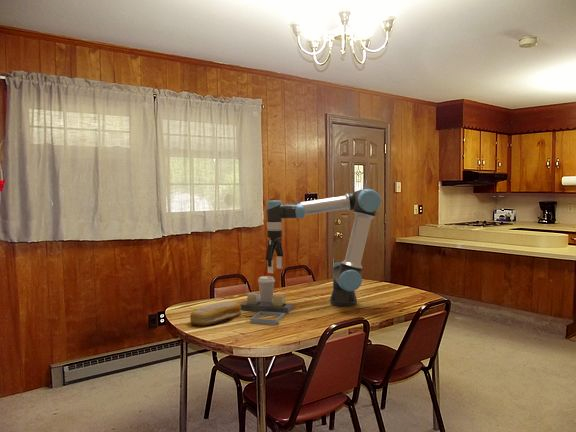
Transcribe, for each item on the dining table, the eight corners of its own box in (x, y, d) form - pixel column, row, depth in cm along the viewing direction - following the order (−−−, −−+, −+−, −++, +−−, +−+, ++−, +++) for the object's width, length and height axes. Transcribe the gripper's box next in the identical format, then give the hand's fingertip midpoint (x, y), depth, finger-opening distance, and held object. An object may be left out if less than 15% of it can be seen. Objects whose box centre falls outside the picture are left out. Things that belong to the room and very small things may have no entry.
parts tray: (284, 317, 217) (284, 313, 217) (276, 325, 205) (276, 320, 205) (259, 315, 221) (259, 311, 221) (250, 323, 209) (250, 318, 208)
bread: (246, 317, 220) (246, 301, 219) (204, 329, 200) (204, 312, 199) (228, 312, 228) (228, 297, 228) (186, 324, 208) (186, 307, 208)
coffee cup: (272, 306, 239) (272, 279, 238) (255, 305, 241) (255, 278, 240) (276, 302, 249) (276, 276, 248) (260, 301, 250) (260, 275, 250)
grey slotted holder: (292, 311, 230) (292, 303, 230) (287, 315, 221) (287, 307, 221) (246, 307, 237) (246, 300, 237) (239, 312, 228) (239, 304, 228)
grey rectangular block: (259, 308, 233) (259, 293, 232) (256, 310, 228) (256, 295, 227) (250, 307, 234) (250, 292, 234) (247, 309, 229) (247, 294, 229)
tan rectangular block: (285, 309, 229) (285, 294, 228) (282, 312, 224) (282, 296, 224) (275, 309, 230) (275, 294, 230) (272, 311, 225) (272, 296, 225)
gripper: (275, 228, 241) (276, 266, 242) (258, 231, 217) (259, 274, 218) (288, 228, 239) (289, 267, 240) (273, 232, 215) (273, 275, 216)
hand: (274, 270), depth 229 cm, fingers open, 13 cm apart
